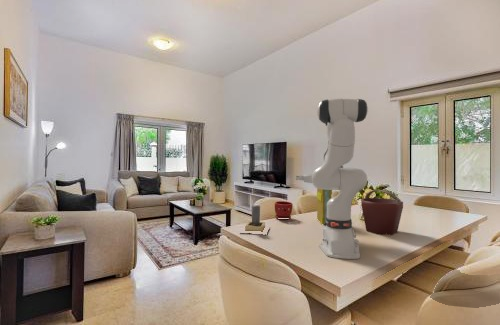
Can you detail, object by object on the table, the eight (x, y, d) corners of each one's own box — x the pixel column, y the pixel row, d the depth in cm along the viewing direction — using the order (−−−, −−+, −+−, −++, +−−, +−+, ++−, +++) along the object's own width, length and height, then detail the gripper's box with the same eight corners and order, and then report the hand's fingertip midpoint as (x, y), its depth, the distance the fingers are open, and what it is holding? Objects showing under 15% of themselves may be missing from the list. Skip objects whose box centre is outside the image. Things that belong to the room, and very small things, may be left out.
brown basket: (411, 237, 138) (411, 192, 138) (371, 237, 138) (371, 192, 138) (386, 226, 162) (386, 187, 162) (353, 226, 162) (353, 187, 162)
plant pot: (272, 220, 178) (272, 203, 178) (276, 216, 191) (276, 200, 191) (291, 221, 175) (291, 204, 175) (293, 217, 187) (293, 201, 187)
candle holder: (266, 235, 142) (266, 228, 142) (239, 233, 145) (239, 226, 145) (269, 227, 158) (269, 221, 158) (245, 226, 161) (245, 220, 161)
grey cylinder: (259, 230, 148) (259, 206, 148) (250, 229, 149) (251, 206, 149) (260, 228, 153) (260, 205, 153) (252, 227, 154) (252, 205, 154)
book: (332, 224, 165) (332, 187, 165) (321, 224, 165) (322, 187, 165) (324, 219, 182) (325, 184, 182) (315, 218, 182) (315, 184, 182)
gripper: (317, 172, 161) (295, 172, 164) (320, 173, 141) (295, 173, 144) (317, 181, 161) (295, 181, 164) (320, 184, 141) (295, 184, 144)
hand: (295, 177), depth 154 cm, fingers open, 8 cm apart
